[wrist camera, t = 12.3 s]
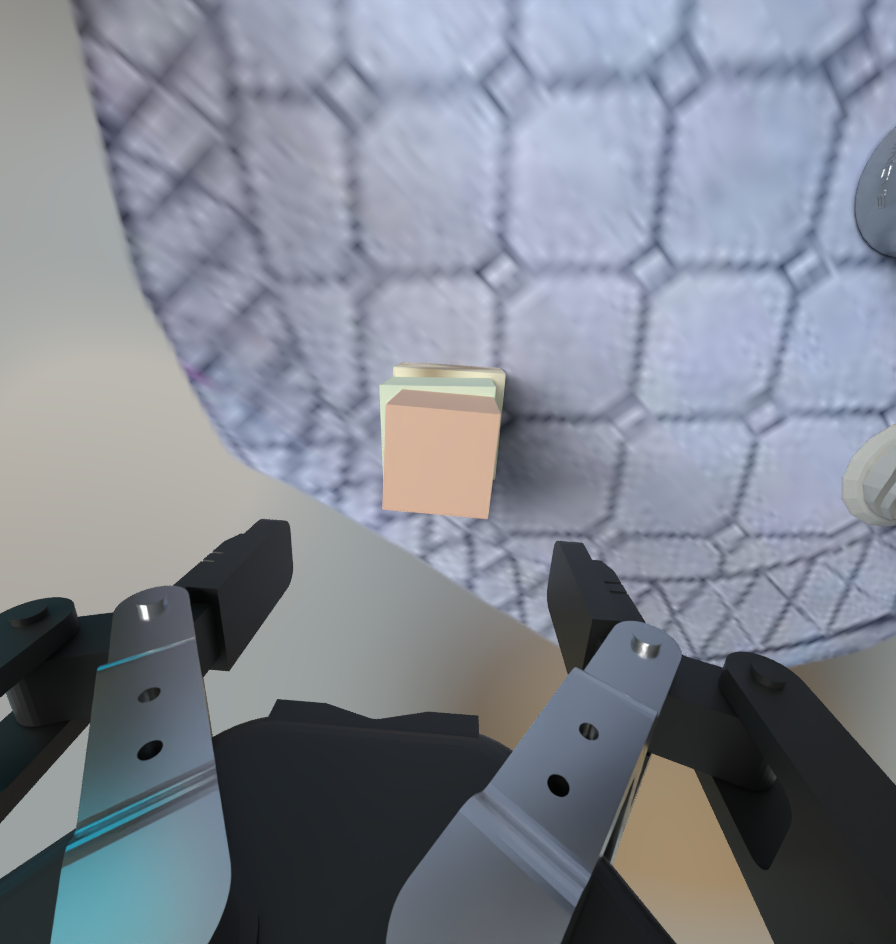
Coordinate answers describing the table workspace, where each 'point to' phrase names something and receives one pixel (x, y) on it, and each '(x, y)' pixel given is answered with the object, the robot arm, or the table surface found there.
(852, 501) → the french press
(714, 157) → the table surface
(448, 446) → the terracotta block
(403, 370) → the birch base block
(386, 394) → the sage top block
